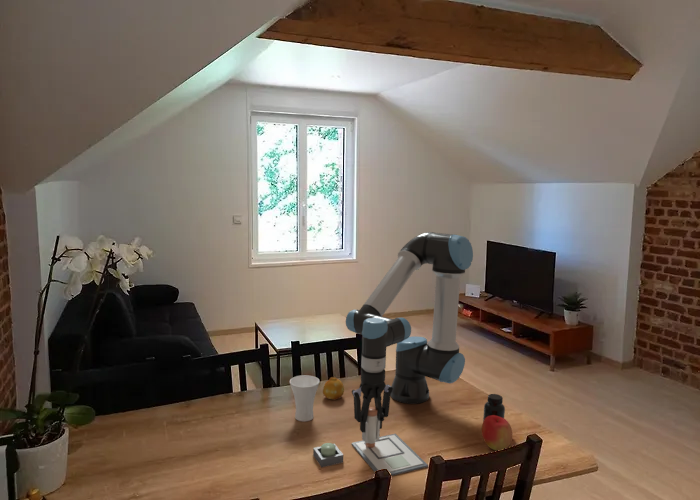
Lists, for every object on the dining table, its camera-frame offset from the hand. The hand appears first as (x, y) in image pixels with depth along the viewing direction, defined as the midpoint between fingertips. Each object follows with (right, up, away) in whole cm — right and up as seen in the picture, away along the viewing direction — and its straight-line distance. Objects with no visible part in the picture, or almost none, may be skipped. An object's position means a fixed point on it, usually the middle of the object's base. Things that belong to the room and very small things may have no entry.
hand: (370, 439), depth 164 cm
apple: (+40, -4, +2) cm, 40 cm away
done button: (-13, -4, -6) cm, 15 cm away
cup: (-23, 0, +20) cm, 30 cm away
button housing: (-13, -4, -6) cm, 15 cm away
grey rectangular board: (+5, -4, -3) cm, 7 cm away
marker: (0, -2, 0) cm, 2 cm away
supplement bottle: (+42, -2, +14) cm, 45 cm away
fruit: (-13, +3, +37) cm, 39 cm away
